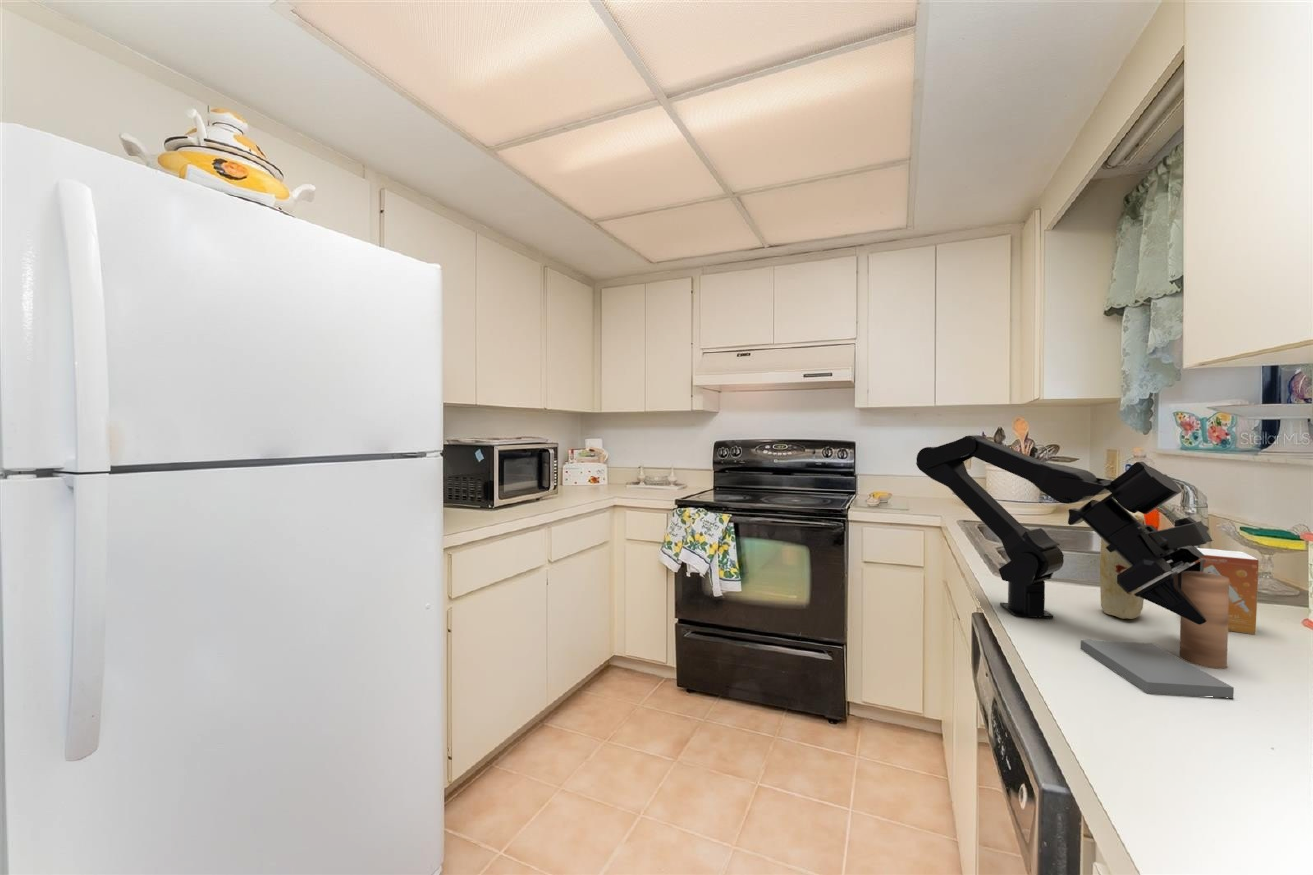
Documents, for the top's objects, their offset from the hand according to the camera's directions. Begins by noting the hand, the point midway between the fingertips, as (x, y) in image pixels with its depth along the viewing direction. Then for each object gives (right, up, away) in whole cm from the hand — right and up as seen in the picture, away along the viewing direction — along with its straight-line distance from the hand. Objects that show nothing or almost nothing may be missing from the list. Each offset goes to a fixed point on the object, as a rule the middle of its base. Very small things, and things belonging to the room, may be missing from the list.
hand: (1213, 617), depth 80 cm
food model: (+4, -7, +20) cm, 22 cm away
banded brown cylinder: (-1, -7, +1) cm, 7 cm away
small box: (+16, -7, +15) cm, 23 cm away
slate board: (-12, -7, -2) cm, 14 cm away
